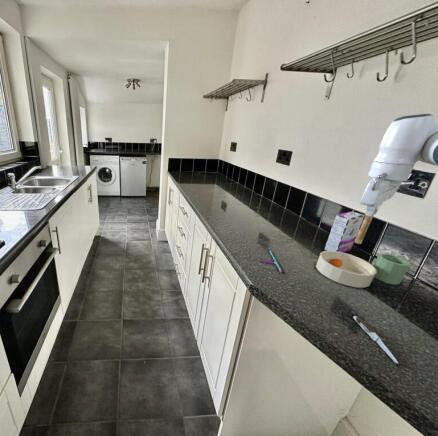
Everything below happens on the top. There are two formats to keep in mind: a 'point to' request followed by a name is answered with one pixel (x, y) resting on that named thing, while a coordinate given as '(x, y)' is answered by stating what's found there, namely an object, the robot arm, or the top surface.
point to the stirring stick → (364, 228)
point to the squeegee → (274, 262)
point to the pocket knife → (374, 336)
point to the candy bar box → (344, 232)
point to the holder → (390, 268)
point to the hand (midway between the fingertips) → (370, 214)
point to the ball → (336, 262)
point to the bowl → (346, 269)
